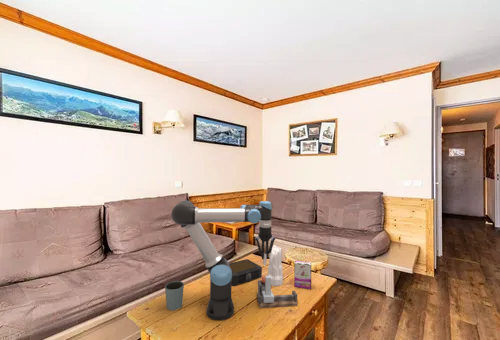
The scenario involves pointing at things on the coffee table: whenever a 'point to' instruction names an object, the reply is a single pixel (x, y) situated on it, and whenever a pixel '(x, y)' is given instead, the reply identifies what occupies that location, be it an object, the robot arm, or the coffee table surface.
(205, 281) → the coffee table surface
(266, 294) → the carriage
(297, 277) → the candy bar box
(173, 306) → the grey cup
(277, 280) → the decorative vase
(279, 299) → the slide rail
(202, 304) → the coffee table surface
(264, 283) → the button
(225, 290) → the robot arm
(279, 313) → the coffee table surface
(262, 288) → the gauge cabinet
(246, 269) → the cash box
